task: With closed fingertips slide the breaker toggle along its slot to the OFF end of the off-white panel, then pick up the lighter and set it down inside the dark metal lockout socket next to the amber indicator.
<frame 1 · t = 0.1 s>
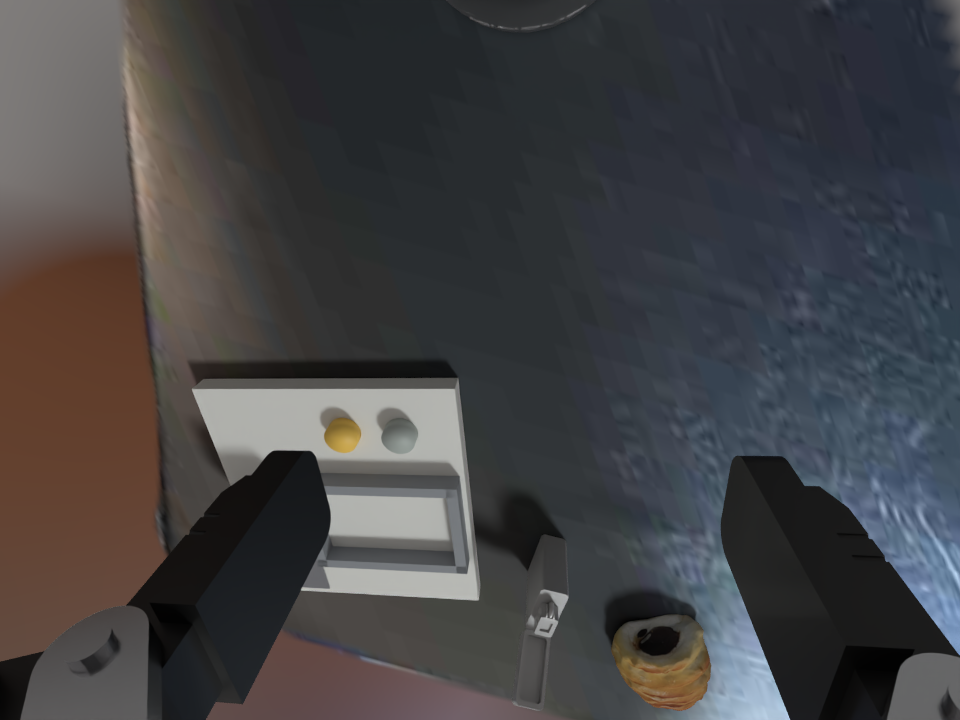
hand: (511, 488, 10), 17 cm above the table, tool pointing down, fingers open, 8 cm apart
pastry: (660, 641, 39), on the table
lighter: (540, 567, 36), on the table
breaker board: (354, 491, 34), on the table
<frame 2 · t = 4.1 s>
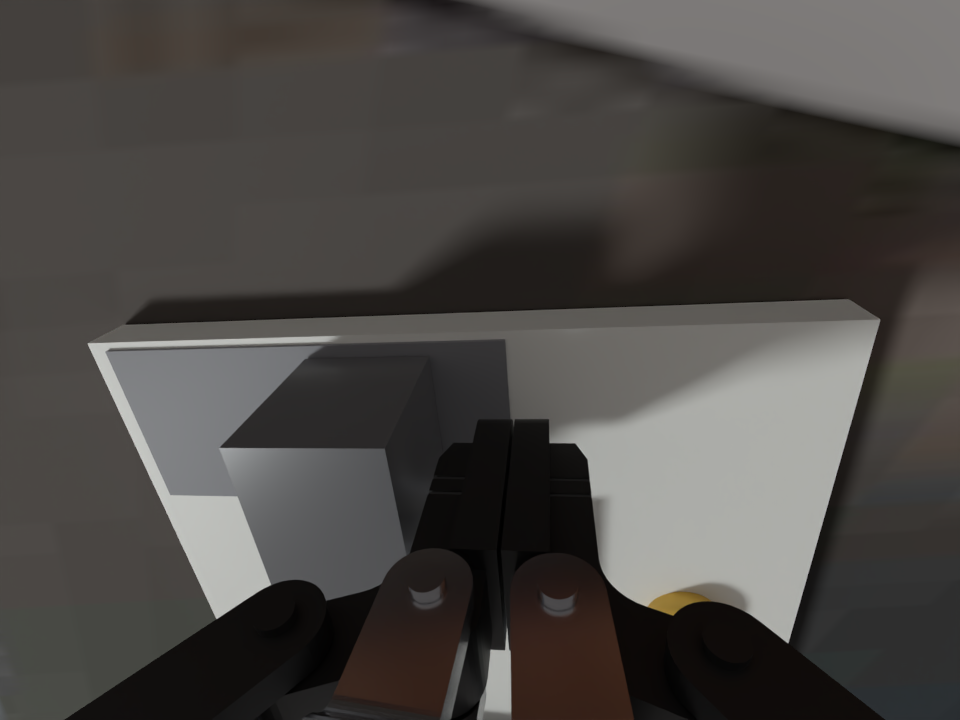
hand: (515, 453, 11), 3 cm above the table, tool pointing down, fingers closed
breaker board: (476, 550, 16), on the table
breaker toggle: (357, 475, 11), point 3 cm above the table, slide at 1.2 cm, touching gripper
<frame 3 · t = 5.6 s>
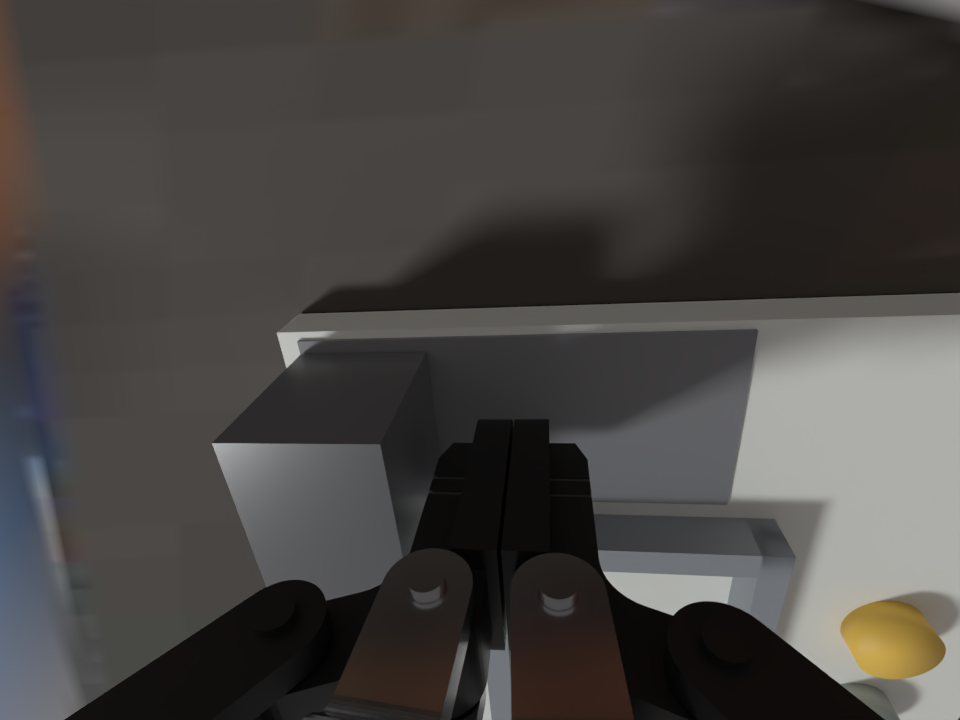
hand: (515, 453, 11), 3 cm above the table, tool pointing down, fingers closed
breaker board: (645, 555, 15), on the table
breaker toggle: (352, 471, 11), point 3 cm above the table, slide at 6.5 cm, touching gripper
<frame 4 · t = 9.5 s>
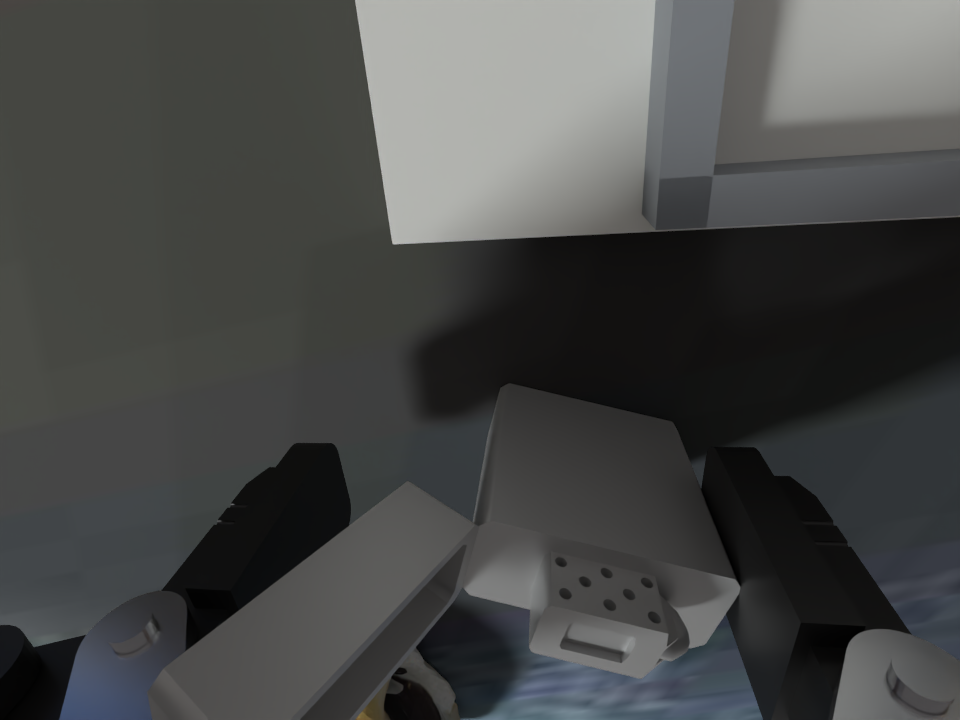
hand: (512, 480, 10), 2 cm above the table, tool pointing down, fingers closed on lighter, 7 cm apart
pastry: (347, 669, 18), on the table
lighter: (518, 413, 12), on the table, touching gripper
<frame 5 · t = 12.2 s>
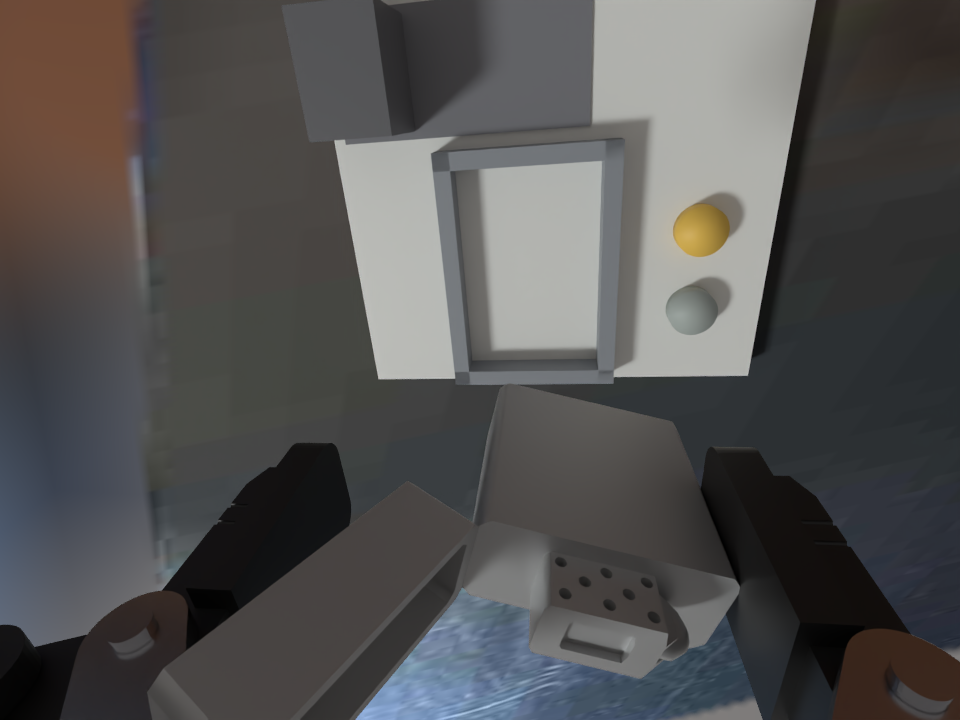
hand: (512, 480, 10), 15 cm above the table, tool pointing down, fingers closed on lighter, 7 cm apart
lighter: (518, 413, 12), point 13 cm above the table, touching gripper
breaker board: (551, 206, 22), on the table
breaker toggle: (356, 76, 18), point 3 cm above the table, slide at 6.5 cm
when the fingers open (4 cm above the table, at t = 14.8 s): lighter stays where it is, resting on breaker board.
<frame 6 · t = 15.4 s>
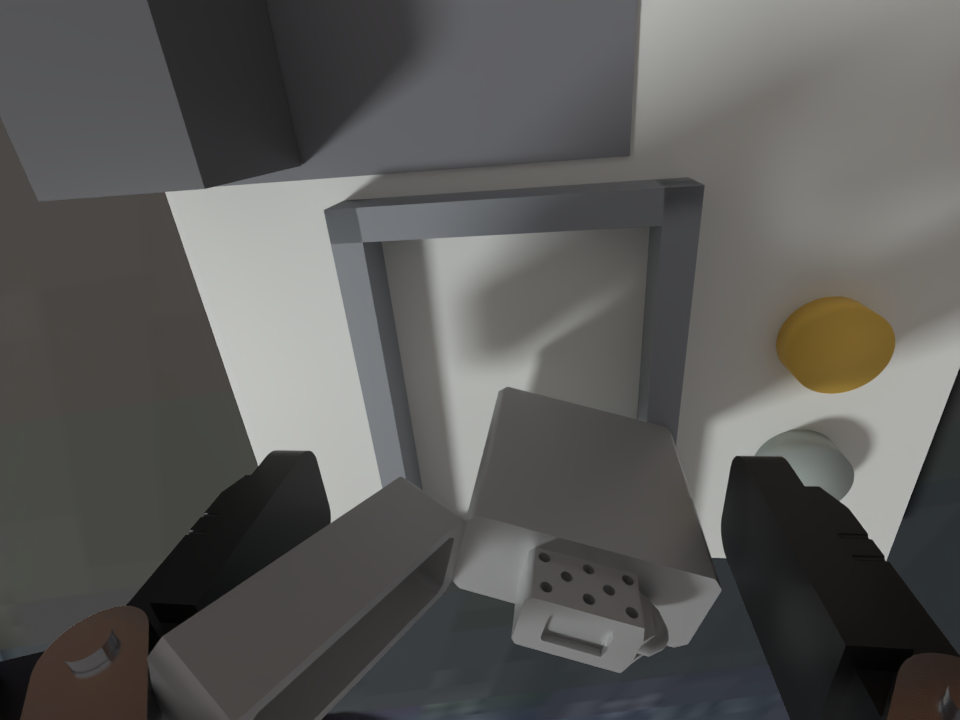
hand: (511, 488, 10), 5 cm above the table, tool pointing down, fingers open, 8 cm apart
lighter: (516, 416, 12), point 2 cm above the table, touching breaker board, gripper
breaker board: (555, 289, 13), on the table
breaker toggle: (149, 60, 9), point 3 cm above the table, slide at 6.5 cm
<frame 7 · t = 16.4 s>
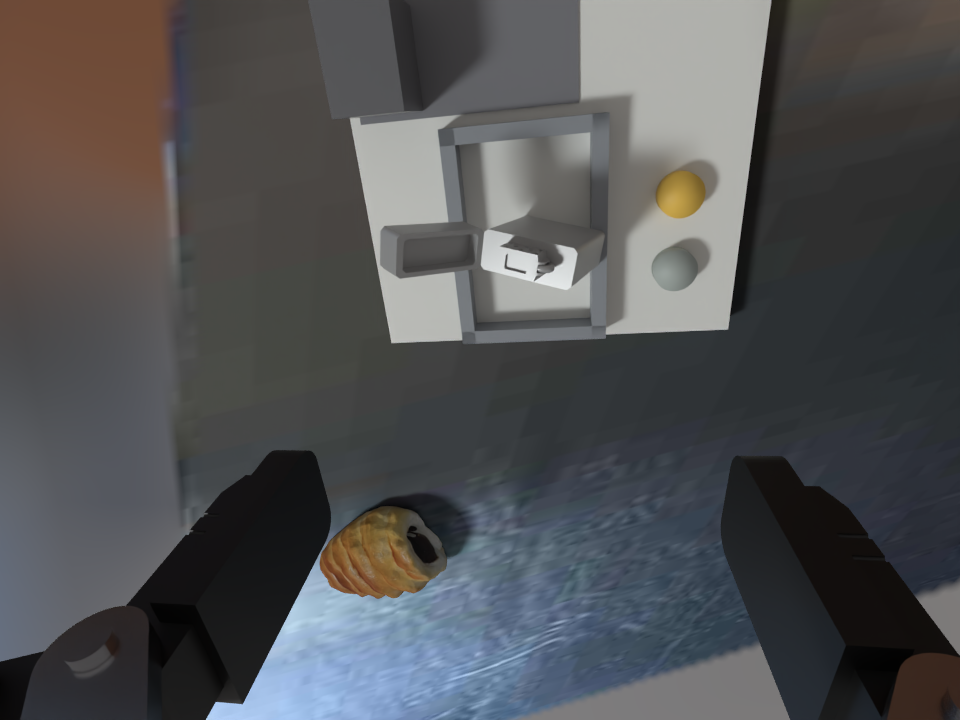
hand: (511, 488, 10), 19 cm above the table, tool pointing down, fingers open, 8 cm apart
pastry: (390, 539, 38), on the table
lighter: (533, 234, 25), point 1 cm above the table, touching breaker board
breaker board: (546, 178, 25), on the table
breaker toggle: (371, 61, 21), point 3 cm above the table, slide at 6.5 cm
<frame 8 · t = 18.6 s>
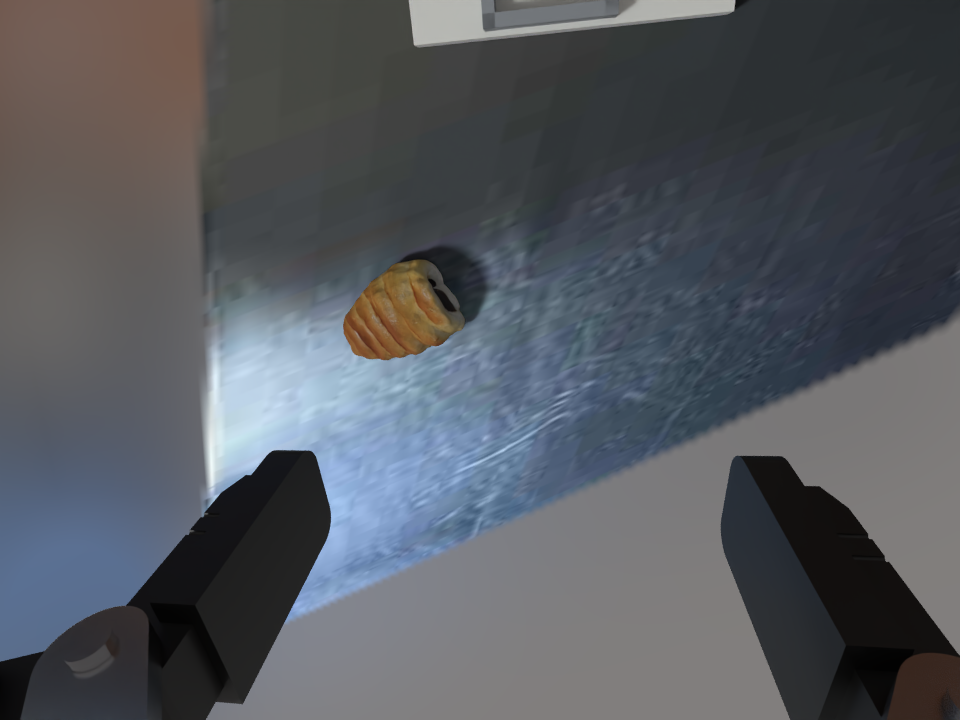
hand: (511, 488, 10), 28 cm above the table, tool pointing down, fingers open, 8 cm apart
pastry: (410, 307, 40), on the table
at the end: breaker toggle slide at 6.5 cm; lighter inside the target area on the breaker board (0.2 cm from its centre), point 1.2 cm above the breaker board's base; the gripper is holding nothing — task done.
